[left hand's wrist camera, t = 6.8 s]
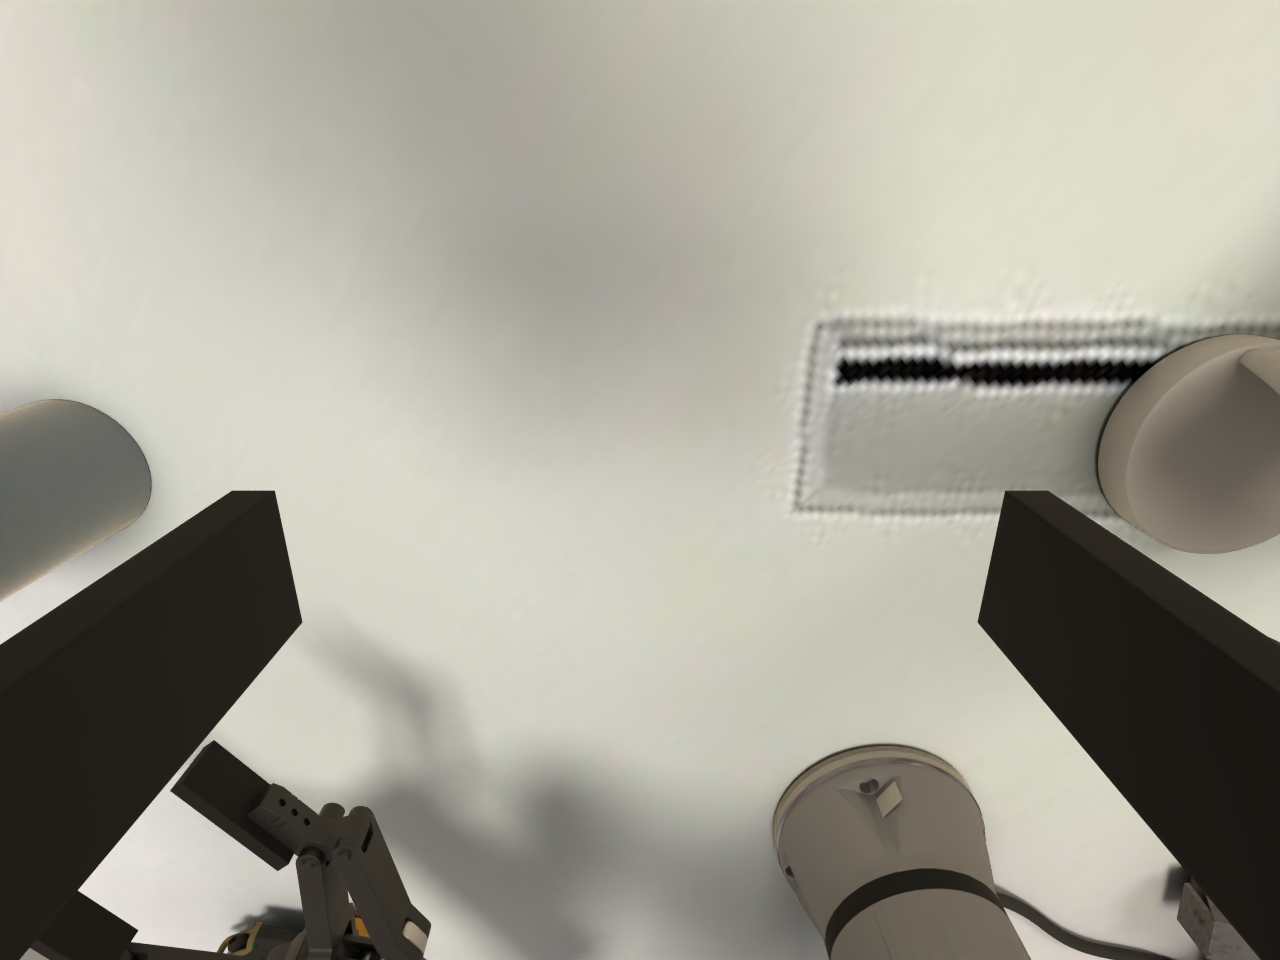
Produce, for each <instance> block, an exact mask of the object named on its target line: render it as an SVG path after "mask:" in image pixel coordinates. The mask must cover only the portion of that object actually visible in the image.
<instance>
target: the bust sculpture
mask: <svg viewBox="0 0 1280 960" xmlns="http://www.w3.org/2000/svg"><path fill="white" fill-rule="evenodd" d="M1098 471H1099V478H1100V483H1101V487H1102V490H1103V492H1104V495H1105V497H1106V499H1107V500H1108V502H1109V504H1110V505H1111V507H1112V508H1113V509H1114V510H1115V511H1116V513H1117V514H1118V515H1119V516H1121V517H1122V518H1123V519H1124V520H1126V521H1127V522H1128V523H1130V524H1132V525H1133V526H1135V527H1136V528H1138V529H1140V530H1141V531H1143V532H1144V533H1146V534H1148V535H1149V536H1151V537H1153V538H1154V539H1156V540H1157V541H1159V542H1161V543H1163V544H1164V545H1167V546H1169V547H1171V548H1174V549H1177V550H1181V551H1185V552H1191V553H1200V554H1214V553H1225V552H1231V551H1236V550H1240V549H1244V548H1247V547H1250V546H1253V545H1256V544H1259V543H1261V542H1263V541H1266V540H1268V539H1270V538H1272V537H1274V536H1276V535H1278V534H1280V340H1278V339H1272V338H1267V337H1262V336H1256V335H1247V334H1234V335H1224V336H1218V337H1213V338H1209V339H1205V340H1202V341H1199V342H1196V343H1193V344H1191V345H1188V346H1186V347H1184V348H1182V349H1180V350H1178V351H1176V352H1174V353H1172V354H1171V355H1169V356H1167V357H1166V358H1164V359H1163V360H1161V361H1160V362H1158V363H1157V364H1155V365H1154V366H1153V367H1152V368H1150V369H1149V370H1148V371H1147V372H1145V373H1144V374H1143V375H1142V376H1141V377H1140V378H1139V379H1138V380H1137V381H1136V382H1135V383H1134V384H1133V385H1132V386H1131V387H1130V389H1129V390H1128V391H1127V392H1126V393H1125V395H1124V396H1123V397H1122V399H1121V400H1120V402H1119V403H1118V404H1117V406H1116V408H1115V409H1114V411H1113V413H1112V415H1111V417H1110V419H1109V421H1108V423H1107V425H1106V428H1105V430H1104V433H1103V436H1102V440H1101V444H1100V449H1099V457H1098Z"/></svg>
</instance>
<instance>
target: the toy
mask: <svg viewBox="0 0 1280 960" xmlns="http://www.w3.org/2000/svg"><path fill="white" fill-rule="evenodd" d="M1177 920H1178V921H1179V922H1180V924H1181V925H1182V926H1183V928H1184V929H1185V930H1186V932H1187V933H1188V934H1189V936H1190V937H1191V939H1192V940H1193V941H1194V943H1195V944H1196V945H1197V947H1198V948H1199V949H1200V951H1201V952H1202V953H1203V955H1204V956H1205V957H1206V959H1210V960H1260V958H1259V957H1258V956H1257V955H1256V954H1255V952H1254V951H1253V950H1252V949H1251V948H1250V946H1249V945H1248V944H1247V943H1246V942H1245V941H1244V939H1243V938H1242V937H1241V936H1240V935H1239V933H1238V932H1237V931H1236V930H1235V929H1234V927H1233V926H1232V925H1231V924H1230V923H1229V921H1228V920H1227V919H1226V918H1225V917H1224V915H1223V914H1222V913H1221V912H1220V911H1219V910H1218V908H1217V907H1216V906H1215V905H1214V904H1213V902H1212V901H1211V900H1210V899H1209V898H1208V896H1207V895H1206V894H1205V893H1204V892H1203V890H1202V889H1201V888H1200V887H1199V886H1198V884H1197V883H1196V882H1195V881H1194V880H1193V879H1192V877H1191V881H1190V883H1184V887H1183V892H1182V896H1181V901H1180V906H1179V910H1178V915H1177Z"/></svg>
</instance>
